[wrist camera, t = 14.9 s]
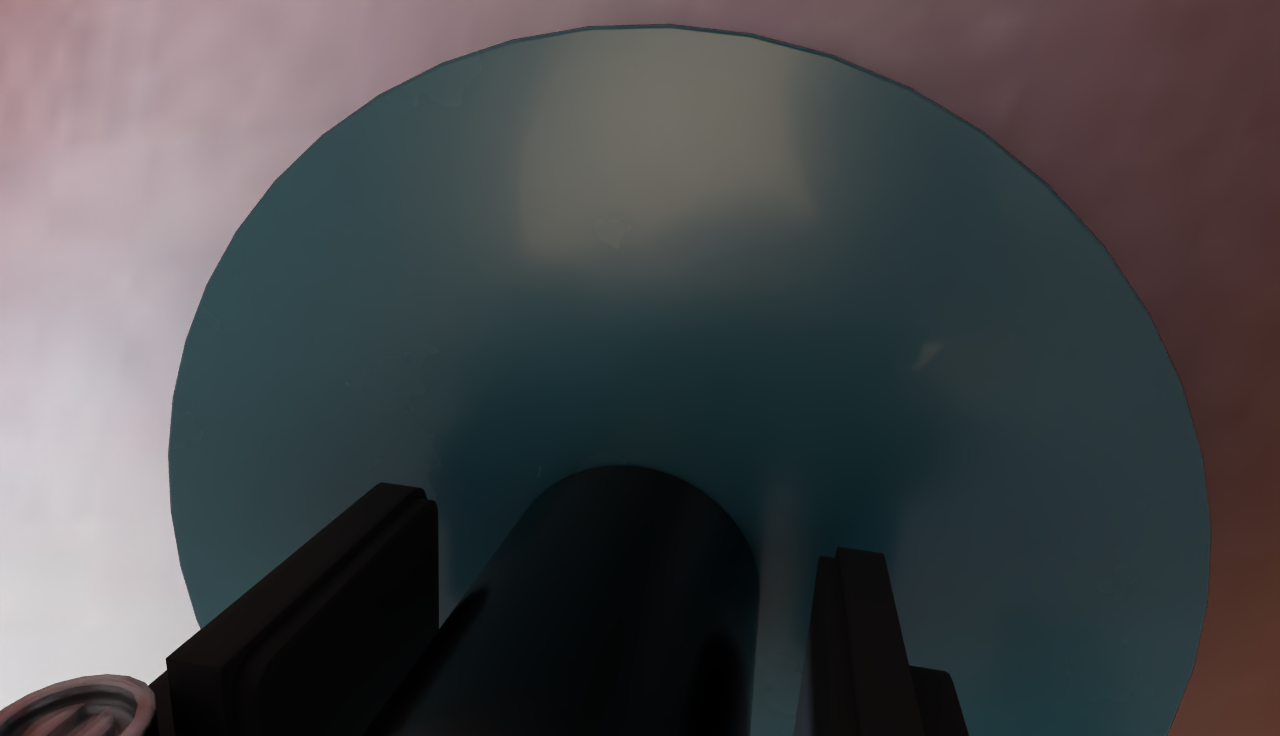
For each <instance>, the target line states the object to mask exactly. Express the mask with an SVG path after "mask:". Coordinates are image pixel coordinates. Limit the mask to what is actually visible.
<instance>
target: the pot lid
mask: <svg viewBox="0 0 1280 736" xmlns="http://www.w3.org/2000/svg"><path fill="white" fill-rule="evenodd" d="M168 462H169V483H170V504H171V515H172V520H173V526H174V532H175V538H176V543H177V549H178V555H179V561H180V566H181V570H182V573H183V576H184V580H185V583H186V586H187V590H188V593H189V596H190V600H191V603H192V606H193V610H194V613H195V616H196V620H197V622H198V624H199V626H200V629H202V628H203V627H204V626H206V625H207V624H208V623H209V622H211V621H212V620H213V619H214V618H215V617H217V616H218V615H219V614H220V613H221V612H223V611H224V610H225V609H226V608H227V607H229V606H230V605H231V604H232V603H234V602H235V601H236V600H237V599H238V598H240V597H241V596H242V595H243V594H244V593H246V592H247V591H248V590H249V589H251V588H252V587H253V586H254V585H255V584H257V583H258V582H259V581H260V580H261V579H263V578H264V577H265V576H266V575H267V574H269V573H270V572H271V571H272V570H274V569H275V568H276V567H277V566H278V565H280V564H281V563H282V562H283V561H284V560H286V559H287V558H288V557H289V556H290V555H292V554H293V553H294V552H295V551H297V550H298V549H299V548H300V547H301V546H303V545H304V544H305V543H306V542H307V541H309V540H310V539H311V538H312V537H314V536H315V535H316V534H317V533H318V532H320V531H321V530H322V529H323V528H324V527H326V526H327V525H328V524H329V523H330V522H332V521H333V520H334V519H335V518H337V517H338V516H339V515H340V514H341V513H343V512H344V511H345V510H346V509H347V508H349V507H350V506H351V505H352V504H353V503H355V502H356V501H357V500H358V499H360V498H361V497H362V496H363V495H364V494H366V493H367V492H368V491H369V490H370V489H372V488H373V487H374V486H375V485H377V484H379V483H380V482H384V483H391V484H398V485H405V486H412V487H419V488H423V490H424V491H425V493H426V496H427V499H428V500H434V501H435V502H436V504H437V507H438V549H439V630H438V632H437V633H436V634H435V636H434V637H433V638H432V640H431V641H430V643H429V644H428V645H427V647H426V648H425V649H424V651H423V652H422V654H421V655H420V656H419V658H418V659H417V661H416V662H415V663H414V665H413V666H412V667H411V669H410V670H409V672H408V673H407V674H406V676H405V677H404V678H403V680H402V681H401V683H400V684H399V685H398V687H397V688H396V689H395V691H394V692H393V694H392V695H391V696H390V698H389V699H388V701H387V702H386V703H385V705H384V706H383V707H382V709H381V710H380V712H379V713H378V714H377V716H376V717H375V718H374V720H373V721H372V723H371V724H370V725H369V727H368V728H367V729H366V731H365V732H364V734H363V735H362V736H794V729H795V722H796V715H797V707H798V700H799V693H800V686H801V679H802V672H803V665H804V658H805V650H806V643H807V636H808V629H809V622H810V615H811V608H812V601H813V594H814V586H815V579H816V572H817V566H818V560H819V557H820V556H825V557H832V558H835V555H836V550H837V548H838V547H844V548H851V549H858V550H865V551H872V552H879V553H884V556H885V560H886V564H887V569H888V573H889V578H890V582H891V587H892V591H893V596H894V600H895V605H896V609H897V614H898V618H899V623H900V627H901V632H902V636H903V641H904V645H905V650H906V654H907V659H908V663H909V665H911V666H917V667H923V668H930V669H936V670H942V671H946V672H947V673H949V674H950V676H951V678H952V681H953V683H954V686H955V690H956V693H957V696H958V700H959V703H960V707H961V710H962V713H963V717H964V720H965V723H966V727H967V730H968V733H969V736H1166V735H1167V734H1168V732H1169V730H1170V728H1171V726H1172V723H1173V720H1174V718H1175V715H1176V713H1177V710H1178V707H1179V705H1180V702H1181V700H1182V697H1183V695H1184V692H1185V689H1186V687H1187V684H1188V682H1189V679H1190V676H1191V674H1192V671H1193V669H1194V665H1195V660H1196V655H1197V651H1198V646H1199V641H1200V636H1201V632H1202V627H1203V622H1204V618H1205V613H1206V608H1207V603H1208V589H1209V568H1210V547H1211V524H1210V515H1209V507H1208V498H1207V489H1206V481H1205V472H1204V463H1203V456H1202V453H1201V449H1200V446H1199V442H1198V439H1197V435H1196V432H1195V428H1194V424H1193V421H1192V417H1191V414H1190V410H1189V407H1188V403H1187V400H1186V396H1185V393H1184V389H1183V386H1182V383H1181V381H1180V379H1179V377H1178V374H1177V372H1176V370H1175V368H1174V366H1173V364H1172V361H1171V359H1170V357H1169V355H1168V353H1167V351H1166V348H1165V346H1164V344H1163V342H1162V340H1161V338H1160V335H1159V333H1158V331H1157V329H1156V327H1155V325H1154V323H1153V320H1152V318H1151V316H1150V314H1149V312H1148V311H1147V309H1146V308H1145V306H1144V305H1143V303H1142V302H1141V300H1140V299H1139V297H1138V296H1137V294H1136V293H1135V291H1134V290H1133V288H1132V287H1131V285H1130V284H1129V282H1128V281H1127V279H1126V278H1125V276H1124V275H1123V273H1122V272H1121V270H1120V269H1119V267H1118V266H1117V264H1116V263H1115V261H1114V260H1113V258H1112V257H1111V255H1110V254H1109V252H1108V251H1107V249H1106V248H1105V246H1104V245H1103V244H1102V243H1101V242H1100V241H1099V240H1098V239H1097V237H1096V236H1095V235H1094V234H1093V233H1092V232H1091V231H1090V230H1089V229H1088V228H1087V226H1086V225H1085V224H1084V223H1083V222H1082V221H1081V220H1080V219H1079V218H1078V217H1077V215H1076V214H1075V213H1074V212H1073V211H1072V210H1071V209H1070V208H1069V207H1068V206H1067V204H1066V203H1065V202H1064V201H1063V200H1062V199H1061V198H1060V197H1059V196H1058V195H1057V193H1056V192H1055V191H1054V190H1053V189H1052V188H1051V187H1050V186H1049V185H1048V184H1047V183H1046V182H1045V181H1043V180H1042V179H1041V178H1040V177H1038V176H1037V175H1036V174H1035V173H1034V172H1032V171H1031V170H1030V169H1029V168H1027V167H1026V166H1025V165H1024V164H1023V163H1021V162H1020V161H1019V160H1018V159H1016V158H1015V157H1014V156H1013V155H1012V154H1010V153H1009V152H1008V151H1007V150H1005V149H1004V148H1003V147H1002V146H1001V145H999V144H998V143H997V142H996V141H994V140H993V139H992V138H991V137H990V136H988V135H987V134H986V133H985V132H983V131H982V130H980V129H978V128H977V127H975V126H973V125H972V124H970V123H968V122H967V121H965V120H963V119H962V118H960V117H958V116H957V115H955V114H953V113H952V112H950V111H948V110H947V109H945V108H944V107H942V106H940V105H939V104H937V103H935V102H934V101H932V100H930V99H929V98H927V97H925V96H924V95H922V94H920V93H919V92H917V91H915V90H914V89H912V88H910V87H908V86H905V85H903V84H901V83H898V82H896V81H893V80H891V79H889V78H886V77H884V76H882V75H879V74H877V73H874V72H872V71H870V70H867V69H865V68H863V67H860V66H858V65H855V64H853V63H851V62H848V61H846V60H844V59H841V58H839V57H837V56H834V55H831V54H828V53H824V52H820V51H816V50H812V49H809V48H805V47H801V46H797V45H793V44H790V43H786V42H782V41H778V40H774V39H771V38H767V37H763V36H759V35H755V34H751V33H743V32H735V31H726V30H717V29H709V28H700V27H691V26H683V25H674V24H650V25H614V26H587V27H582V28H576V29H570V30H564V31H559V32H553V33H547V34H541V35H536V36H530V37H524V38H518V39H513V40H510V41H507V42H504V43H501V44H498V45H495V46H492V47H489V48H486V49H483V50H480V51H477V52H473V53H470V54H467V55H464V56H461V57H458V58H455V59H452V60H449V61H446V62H443V63H441V64H439V65H437V66H435V67H433V68H431V69H429V70H427V71H425V72H423V73H421V74H419V75H417V76H415V77H413V78H411V79H409V80H407V81H405V82H403V83H401V84H399V85H397V86H395V87H393V88H391V89H389V90H387V91H385V92H383V93H381V94H379V95H378V96H376V97H375V98H374V99H372V100H371V101H369V102H368V103H367V104H365V105H364V106H362V107H361V108H359V109H358V110H357V111H355V112H354V113H352V114H351V115H350V116H348V117H347V118H345V119H344V120H343V121H341V122H340V123H338V124H337V125H336V126H334V127H333V128H331V129H330V130H328V131H327V132H326V133H324V134H323V135H322V136H321V137H320V138H319V139H318V140H317V141H316V142H315V143H314V144H312V145H311V146H310V147H309V148H308V149H307V150H306V151H305V152H304V153H303V154H302V155H301V156H300V157H299V158H298V159H297V160H296V161H295V162H294V163H293V164H292V165H291V166H290V167H289V168H288V169H287V170H286V171H284V172H283V173H282V174H281V175H280V176H279V177H278V178H277V179H276V180H275V181H274V183H273V184H272V185H271V187H270V188H269V189H268V190H267V192H266V193H265V194H264V196H263V197H262V198H261V200H260V201H259V202H258V204H257V205H256V206H255V207H254V209H253V210H252V211H251V213H250V214H249V215H248V217H247V218H246V219H245V221H244V222H243V223H242V224H241V226H240V227H239V228H238V230H237V231H236V233H235V234H234V236H233V238H232V240H231V242H230V243H229V245H228V247H227V249H226V251H225V252H224V254H223V256H222V258H221V260H220V262H219V263H218V265H217V267H216V269H215V271H214V272H213V274H212V276H211V278H210V280H209V281H208V283H207V285H206V288H205V290H204V293H203V296H202V298H201V301H200V304H199V306H198V309H197V312H196V314H195V317H194V320H193V322H192V325H191V328H190V330H189V333H188V336H187V338H186V341H185V345H184V350H183V354H182V359H181V363H180V368H179V372H178V377H177V381H176V386H175V390H174V395H173V402H172V414H171V426H170V438H169V450H168Z"/></svg>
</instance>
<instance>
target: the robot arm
mask: <svg viewBox="0 0 1280 736" xmlns="http://www.w3.org/2000/svg"><path fill="white" fill-rule="evenodd" d="M438 630H439V549H438V507H437V504H436V502H435V501H434V500H428V499H427V496H426V493H425V491H424V490H423V488H419V487H412V486H405V485H398V484H391V483H384V482H380V483H379V484H377V485H375V486H374V487H373V488H372V489H370V490H369V491H368V492H367V493H366V494H364V495H363V496H362V497H361V498H360V499H358V500H357V501H356V502H355V503H353V504H352V505H351V506H350V507H349V508H347V509H346V510H345V511H344V512H343V513H341V514H340V515H339V516H338V517H337V518H335V519H334V520H333V521H332V522H330V523H329V524H328V525H327V526H326V527H324V528H323V529H322V530H321V531H320V532H318V533H317V534H316V535H315V536H314V537H312V538H311V539H310V540H309V541H307V542H306V543H305V544H304V545H303V546H301V547H300V548H299V549H298V550H297V551H295V552H294V553H293V554H292V555H290V556H289V557H288V558H287V559H286V560H284V561H283V562H282V563H281V564H280V565H278V566H277V567H276V568H275V569H274V570H272V571H271V572H270V573H269V574H267V575H266V576H265V577H264V578H263V579H261V580H260V581H259V582H258V583H257V584H255V585H254V586H253V587H252V588H251V589H249V590H248V591H247V592H246V593H244V594H243V595H242V596H241V597H240V598H238V599H237V600H236V601H235V602H234V603H232V604H231V605H230V606H229V607H227V608H226V609H225V610H224V611H223V612H221V613H220V614H219V615H218V616H217V617H215V618H214V619H213V620H212V621H211V622H209V623H208V624H207V625H206V626H204V627H203V628H202V629H201V630H200V631H198V632H197V633H196V634H195V635H194V636H192V637H191V638H190V639H189V640H187V641H186V642H185V643H184V644H183V645H181V646H180V647H179V648H178V649H177V650H175V651H174V652H173V653H172V654H171V655H169V656H168V657H167V658H166V664H167V670H166V671H165V672H164V673H163V674H162V675H161V676H159V677H158V678H157V679H156V680H155V681H153V682H152V683H151V684H150V685H149V686H148V685H147V684H146V683H145V682H142V681H140V680H137V679H135V678H132V677H130V676H121V675H110V674H105V675H95V676H84V677H79V678H75V679H71V680H67V681H63V682H59V683H55V684H53V685H50V686H48V687H45V688H43V689H40V690H38V691H35V692H33V693H30V694H28V695H26V696H24V697H23V698H21V699H19V700H18V701H16V702H14V703H12V704H11V705H9V706H7V707H5V708H4V709H2V710H1V711H0V736H362V735H363V734H364V732H365V731H366V729H367V728H368V727H369V725H370V724H371V723H372V721H373V720H374V718H375V717H376V716H377V714H378V713H379V712H380V710H381V709H382V707H383V706H384V705H385V703H386V702H387V701H388V699H389V698H390V696H391V695H392V694H393V692H394V691H395V689H396V688H397V687H398V685H399V684H400V683H401V681H402V680H403V678H404V677H405V676H406V674H407V673H408V672H409V670H410V669H411V667H412V666H413V665H414V663H415V662H416V661H417V659H418V658H419V656H420V655H421V654H422V652H423V651H424V649H425V648H426V647H427V645H428V644H429V643H430V641H431V640H432V638H433V637H434V636H435V634H436V633H437V632H438ZM794 736H969V733H968V730H967V727H966V723H965V720H964V717H963V713H962V710H961V707H960V703H959V700H958V696H957V693H956V690H955V686H954V683H953V681H952V678H951V676H950V674H949V673H947V672H946V671H942V670H936V669H930V668H923V667H917V666H911V665H909V663H908V659H907V654H906V650H905V645H904V641H903V636H902V632H901V627H900V623H899V618H898V614H897V609H896V605H895V600H894V596H893V591H892V587H891V582H890V578H889V573H888V569H887V564H886V560H885V556H884V553H879V552H872V551H865V550H858V549H851V548H844V547H838V548H837V550H836V555H835V558H832V557H825V556H820V557H819V560H818V566H817V572H816V579H815V586H814V594H813V601H812V608H811V615H810V622H809V629H808V636H807V643H806V650H805V658H804V665H803V672H802V679H801V686H800V693H799V700H798V707H797V715H796V722H795V729H794Z"/></svg>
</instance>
